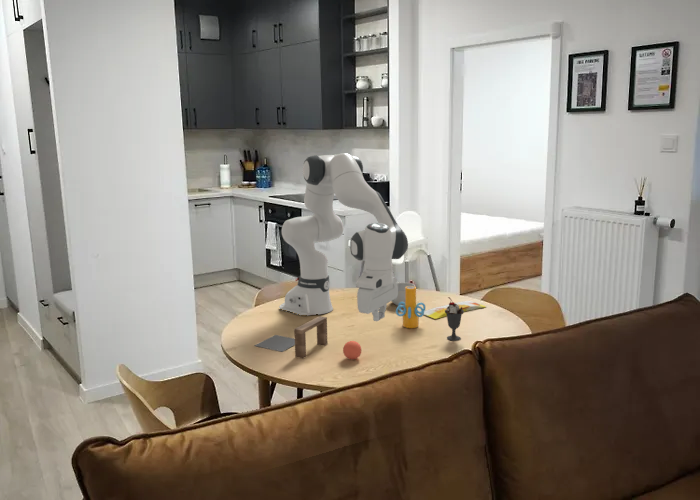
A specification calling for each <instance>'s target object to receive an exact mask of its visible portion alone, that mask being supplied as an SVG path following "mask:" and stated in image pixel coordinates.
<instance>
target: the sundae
mask: <svg viewBox="0 0 700 500" xmlns="http://www.w3.org/2000/svg"><path fill="white" fill-rule="evenodd" d="M447 298H448V299H449V300H450V302H449V303H448V305H449V306H448V307H447V309H446V310H445V313H446V314H447V316H446V319H447V324H448V327H449V328H450V329H451V330H452V331H451V335H448V336H447V337H446V339H447V340H448V341H453V342H455V341H456V342H458V341H461V339H462V338H461V337H460V336H458V335H457V334H456V330H457V329H458V328H459V327H460V325H461V320H462V315H463V314H464V313H465V312H464V311H463V310H462V307H461V308H459V306H458V305H457V304H455V303H456V302H453V301H452V298H451V297H447Z"/></svg>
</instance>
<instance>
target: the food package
mask: <svg viewBox="0 0 700 500" xmlns="http://www.w3.org/2000/svg"><path fill="white" fill-rule="evenodd" d="M454 303H455V304H457V305H458V306H459V308H461V307H462V310H463V311H464V313H465V312H469V311H474V310H480V309H484V308H486V307H487V305H483V304H481V303H477V302H475V301H471V300H465V301H458V302H454ZM448 306H449V304H446V305H445V304H444V305H442V306H437V307H433V308H430V309H425V311H424V315H423V316H426V317H429V318H431V319H434V320H437V319H441V318H442V319H443V318H447V314H446V313H445V310H446V309H447V307H448ZM421 314H422V313H420V315H421Z"/></svg>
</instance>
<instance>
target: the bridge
mask: <svg viewBox="0 0 700 500" xmlns="http://www.w3.org/2000/svg"><path fill="white" fill-rule="evenodd" d="M314 328H316V343H317V345H318V346H323V347H325V346H327V345H328V344H329V343H328V318H327V317H326V316H321V315H320V316H317V317H315V318H313V319H312V320H309V321H307V322H305V323H303V324H301V325H300V326H298V327H296V328H294V330H293V331H294V339H295V345H294V357H295V358H297V359H298V358H299V359H304V358H306V357H307V343H306V341H307V339H306V338H307V337H306V333H307V332H308V331H310V330H312V329H314Z"/></svg>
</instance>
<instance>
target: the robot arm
mask: <svg viewBox="0 0 700 500" xmlns="http://www.w3.org/2000/svg"><path fill="white" fill-rule="evenodd" d="M302 166H303V167H302V174H303V178H304V181H305V182H306V186H305V193H304V197H303V203H304V206H305V208H306V209H307V210H308V211H309V212H311V213H313V214H311V215H307V216H306V215H305V216H304V215H303V216H297V217H293V218H290V219H287V220H285V221H284V223H283V224H282V226H281V236H282V238H283V241H284V242H285V243H287V244H288V245H290V247H292V248H293V249H294V251H295V252H296V254H297V256H298V260H299V267H300V268H299V270H300V275H299V276H298V277H297V278H296V277H295V282H297V284H296V285H295V286H294V287H293V288H291V289H290V290H289V291H288V292H286V294H285V296H284V302H283V303H281V304H280V305H279V307H278V309H279V308H280V309H283V310H287V311H290V312H294V313H297V314H296V315H298V314H300V315H299V316H301V315H307V316H313V315H316V314H318V315H323V314H324V315H325V314H327V313H330V312H332V311H333V310H334V308H333V305H332V301H331V296H330V275H329V264H328V263H329V262H328V258H327V255H326V254H325V253H323V252H322V251H320V250H317V249H316V248H315V243H318V244H319V243H324V242H325V243H326V242H330V241H334V240H337V239H339V238H341V236H342V234H343V233H344V223H343V221H342V218H341V217H340V216H339V215H337V214H336V213H335V210H334V207H333V204H334V198H336V199H337V201H338V202H339V203H340V204H341V205H344V206H345V207H347V208H349V209H350V208H352V209H356V210H361V211H364V212H368V213H370V214H372V215H373V216H374V217H375V219H376V221H377V222H374V223H372V222H371V223H369V224H367V225H366V226H365V228H364V229H363V230H360V231H356V232H355V233H354V234H353V235H352V237H351V238H350V244H349V245H350V246H349V247H350V254H351V256H352V257H353V258H355V259H356V260H357V261H361V262H364V265H363V267H364V269H363V271H362V274H361V275H360V276H359V278H358V279H357V280H356V284H355V285H356V288H358V289H357V291H356V293H357V294H356V297H357V299H356V302H357V303H356V304H357V310H358V312H359V313H361V314H365V315H366V314H367V315H369V314H371V315H372V316H373V317H372V319H373V322H379V321H381V319H384V318H385V315H386V314H385V312H386V310H387V306H388V304H389V303H390V302H392V300H394V299H396V298H397V295H398V286H397V282H398V279H397V277H396V274H395V272H394V268H393V267H394V266H393V265H394V264H393V260H399V259H401V258H402V257H403V256H404V255H405V253H407V250H408V247H409V241H408V237H407V235H406V233H405V232H404V231H403V229H402V228H401V227H400V226H399V224H398V223H397V221H396V219H395V217H394V216H393V214H392V212H391V210H390V208H389V207H388V205H387V203H386V202H385V200H384V198H383V197H382V195H381V193H380V192H378V191H377V190H375V189H373V187H371V186H370V185H369V184H368V183H367V181H366V180H365V178H364V166H363V162H362V160H361V158H360V157H358V156H355V155H351V154H349V153H346V152H345V153H344V152H341V153H338V154H324V155H311V156H307V158H306V159H305V160H304V162H303V165H302ZM280 309H279V310H280ZM283 310H282V311H283ZM287 311H286V312H287ZM290 312H289V313H290ZM294 313H293V314H294Z"/></svg>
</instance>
